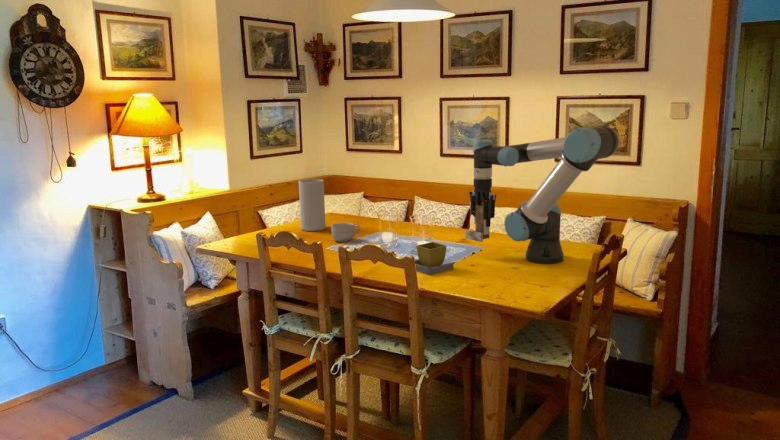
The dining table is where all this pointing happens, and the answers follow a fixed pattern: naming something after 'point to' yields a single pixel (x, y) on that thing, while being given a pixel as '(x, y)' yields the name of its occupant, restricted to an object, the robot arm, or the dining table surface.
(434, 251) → the flower pot
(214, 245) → the dining table surface
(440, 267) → the tray
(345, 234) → the teacup
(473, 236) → the upright post on base
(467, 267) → the dining table surface
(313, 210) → the cylinder vase
